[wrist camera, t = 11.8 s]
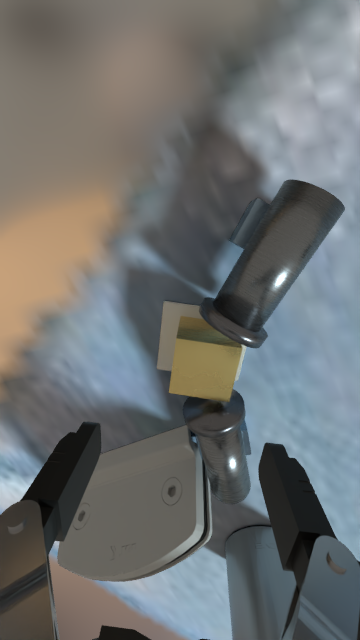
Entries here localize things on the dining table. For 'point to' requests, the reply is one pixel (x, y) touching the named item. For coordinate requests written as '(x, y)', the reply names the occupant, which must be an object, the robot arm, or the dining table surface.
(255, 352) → the dining table surface
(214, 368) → the block
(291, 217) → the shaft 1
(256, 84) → the dining table surface
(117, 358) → the dining table surface
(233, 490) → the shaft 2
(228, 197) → the dining table surface
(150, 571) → the grey rounded block
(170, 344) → the plate
